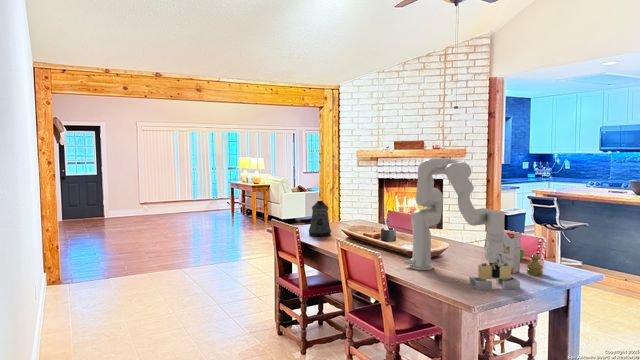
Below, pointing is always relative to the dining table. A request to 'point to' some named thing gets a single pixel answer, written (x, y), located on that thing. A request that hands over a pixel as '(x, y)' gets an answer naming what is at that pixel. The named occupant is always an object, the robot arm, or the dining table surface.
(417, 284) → the dining table surface
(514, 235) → the cracker box
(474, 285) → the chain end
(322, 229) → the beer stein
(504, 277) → the link
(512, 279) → the chain end
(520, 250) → the fruit basket
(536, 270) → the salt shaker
